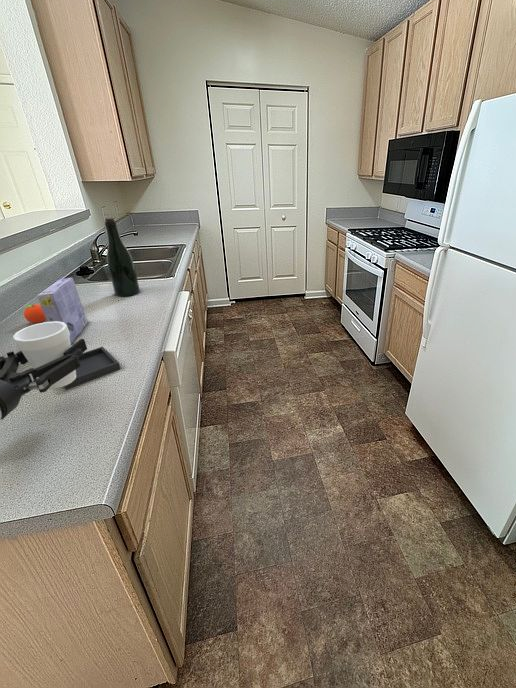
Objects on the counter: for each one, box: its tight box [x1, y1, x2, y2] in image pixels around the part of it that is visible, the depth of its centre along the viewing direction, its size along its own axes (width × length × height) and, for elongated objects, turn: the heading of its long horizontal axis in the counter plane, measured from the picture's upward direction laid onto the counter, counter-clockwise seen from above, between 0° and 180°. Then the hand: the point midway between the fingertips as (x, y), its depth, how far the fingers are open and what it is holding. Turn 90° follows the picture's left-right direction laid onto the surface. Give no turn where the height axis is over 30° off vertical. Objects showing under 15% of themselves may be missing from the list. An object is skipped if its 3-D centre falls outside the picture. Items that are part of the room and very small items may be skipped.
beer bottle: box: [104, 217, 141, 297], centre depth 145 cm, size 10×10×33 cm
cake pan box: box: [36, 277, 89, 345], centre depth 112 cm, size 19×5×18 cm, turn 14°
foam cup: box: [12, 321, 76, 390], centre depth 74 cm, size 10×9×13 cm
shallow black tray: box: [64, 346, 121, 390], centre depth 95 cm, size 14×14×2 cm
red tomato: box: [20, 304, 47, 324], centre depth 123 cm, size 8×7×7 cm
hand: (62, 344), depth 78 cm, fingers closed on foam cup, 9 cm apart
